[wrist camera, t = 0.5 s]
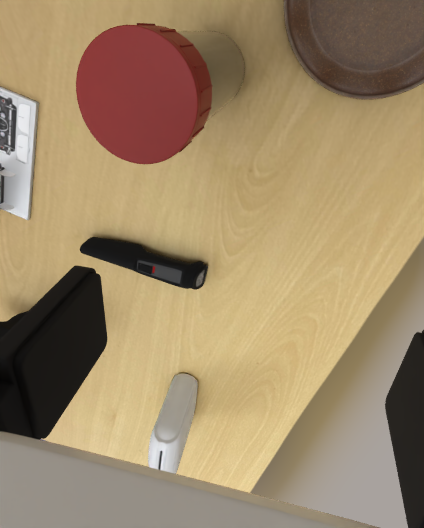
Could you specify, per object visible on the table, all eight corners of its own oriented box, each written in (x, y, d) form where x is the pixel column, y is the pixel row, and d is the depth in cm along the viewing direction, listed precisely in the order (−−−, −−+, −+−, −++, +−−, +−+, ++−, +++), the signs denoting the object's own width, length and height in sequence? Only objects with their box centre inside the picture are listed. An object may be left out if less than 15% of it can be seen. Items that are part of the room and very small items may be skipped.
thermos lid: (107, 10, 22) (75, 7, 19) (226, 43, 22) (212, 45, 19) (99, 132, 26) (72, 145, 23) (200, 162, 26) (186, 179, 23)
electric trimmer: (92, 225, 49) (79, 236, 46) (209, 261, 47) (203, 275, 45) (91, 250, 51) (78, 262, 48) (203, 285, 49) (197, 300, 47)
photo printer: (194, 418, 64) (172, 494, 53) (169, 412, 64) (142, 485, 54) (201, 376, 58) (177, 451, 48) (173, 368, 59) (144, 441, 48)
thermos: (185, 22, 35) (89, 16, 20) (253, 41, 35) (207, 49, 20) (173, 96, 38) (84, 139, 23) (235, 114, 38) (184, 169, 23)
